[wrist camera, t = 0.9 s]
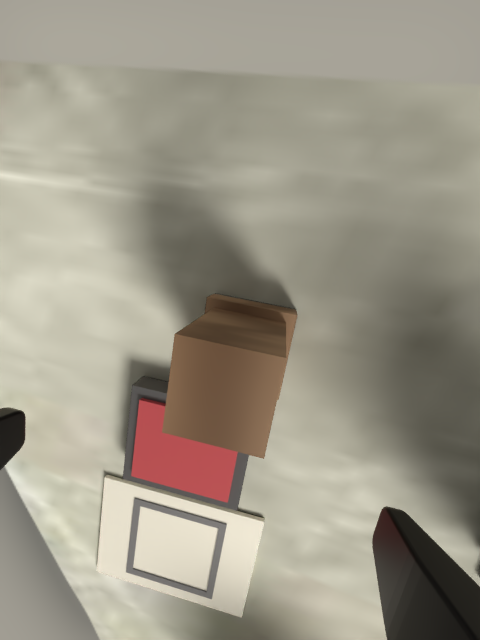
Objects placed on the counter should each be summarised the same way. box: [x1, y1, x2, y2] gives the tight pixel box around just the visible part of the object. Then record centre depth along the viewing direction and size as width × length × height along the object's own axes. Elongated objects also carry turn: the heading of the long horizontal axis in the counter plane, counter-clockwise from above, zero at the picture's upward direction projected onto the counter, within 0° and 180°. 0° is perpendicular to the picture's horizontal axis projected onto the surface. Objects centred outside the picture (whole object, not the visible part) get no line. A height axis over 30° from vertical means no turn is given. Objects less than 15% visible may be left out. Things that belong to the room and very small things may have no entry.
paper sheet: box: [97, 475, 265, 618], centre depth 22 cm, size 12×9×1 cm
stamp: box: [162, 293, 297, 459], centre depth 15 cm, size 5×5×8 cm
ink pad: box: [123, 376, 249, 511], centre depth 19 cm, size 8×7×2 cm
